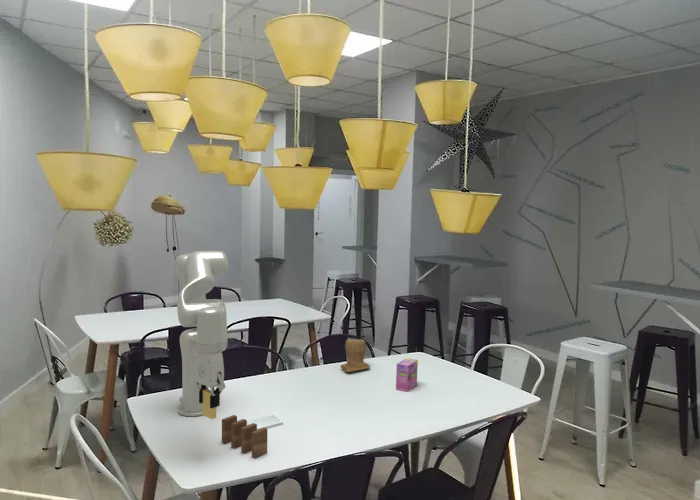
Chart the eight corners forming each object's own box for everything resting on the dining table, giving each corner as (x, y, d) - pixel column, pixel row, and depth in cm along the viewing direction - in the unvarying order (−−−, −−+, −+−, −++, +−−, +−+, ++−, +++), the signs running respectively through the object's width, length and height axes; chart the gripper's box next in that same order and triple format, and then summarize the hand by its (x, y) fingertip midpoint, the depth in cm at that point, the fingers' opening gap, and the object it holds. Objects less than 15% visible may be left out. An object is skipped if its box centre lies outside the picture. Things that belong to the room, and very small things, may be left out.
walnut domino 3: (241, 452, 162) (241, 427, 162) (253, 446, 166) (253, 422, 165) (244, 453, 161) (244, 429, 160) (256, 448, 165) (256, 424, 164)
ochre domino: (211, 419, 158) (212, 394, 157) (202, 414, 161) (202, 390, 160) (216, 417, 159) (216, 392, 158) (206, 413, 162) (206, 388, 161)
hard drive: (272, 414, 190) (241, 421, 183) (283, 421, 184) (251, 429, 176) (272, 418, 190) (241, 426, 183) (283, 426, 184) (251, 434, 177)
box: (407, 392, 220) (408, 365, 220) (395, 389, 223) (396, 363, 223) (417, 385, 229) (418, 359, 228) (405, 383, 232) (406, 357, 231)
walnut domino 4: (251, 457, 159) (251, 432, 158) (263, 451, 163) (264, 427, 162) (254, 458, 158) (255, 433, 157) (267, 453, 162) (267, 428, 161)
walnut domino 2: (231, 447, 165) (231, 423, 165) (243, 442, 169) (243, 418, 169) (234, 449, 164) (234, 424, 164) (246, 443, 168) (246, 420, 168)
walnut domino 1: (221, 443, 168) (221, 419, 168) (233, 438, 172) (234, 414, 172) (224, 444, 167) (224, 420, 167) (236, 439, 171) (237, 416, 171)
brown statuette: (358, 364, 261) (359, 335, 260) (373, 370, 251) (373, 340, 250) (334, 368, 252) (334, 338, 251) (348, 375, 242) (348, 344, 241)
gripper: (183, 344, 160) (183, 400, 162) (216, 355, 150) (215, 415, 151) (203, 340, 166) (203, 394, 168) (236, 350, 156) (236, 408, 157)
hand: (209, 403), depth 159 cm, fingers closed on ochre domino, 4 cm apart
